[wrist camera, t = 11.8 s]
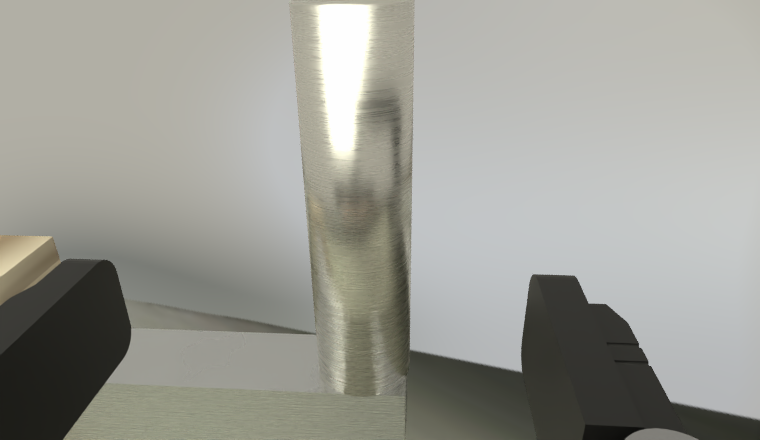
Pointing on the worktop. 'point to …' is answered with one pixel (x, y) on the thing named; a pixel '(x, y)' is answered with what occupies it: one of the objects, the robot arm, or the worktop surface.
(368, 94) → the crank handle
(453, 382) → the worktop surface
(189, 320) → the worktop surface
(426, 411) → the worktop surface
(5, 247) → the bearing block
